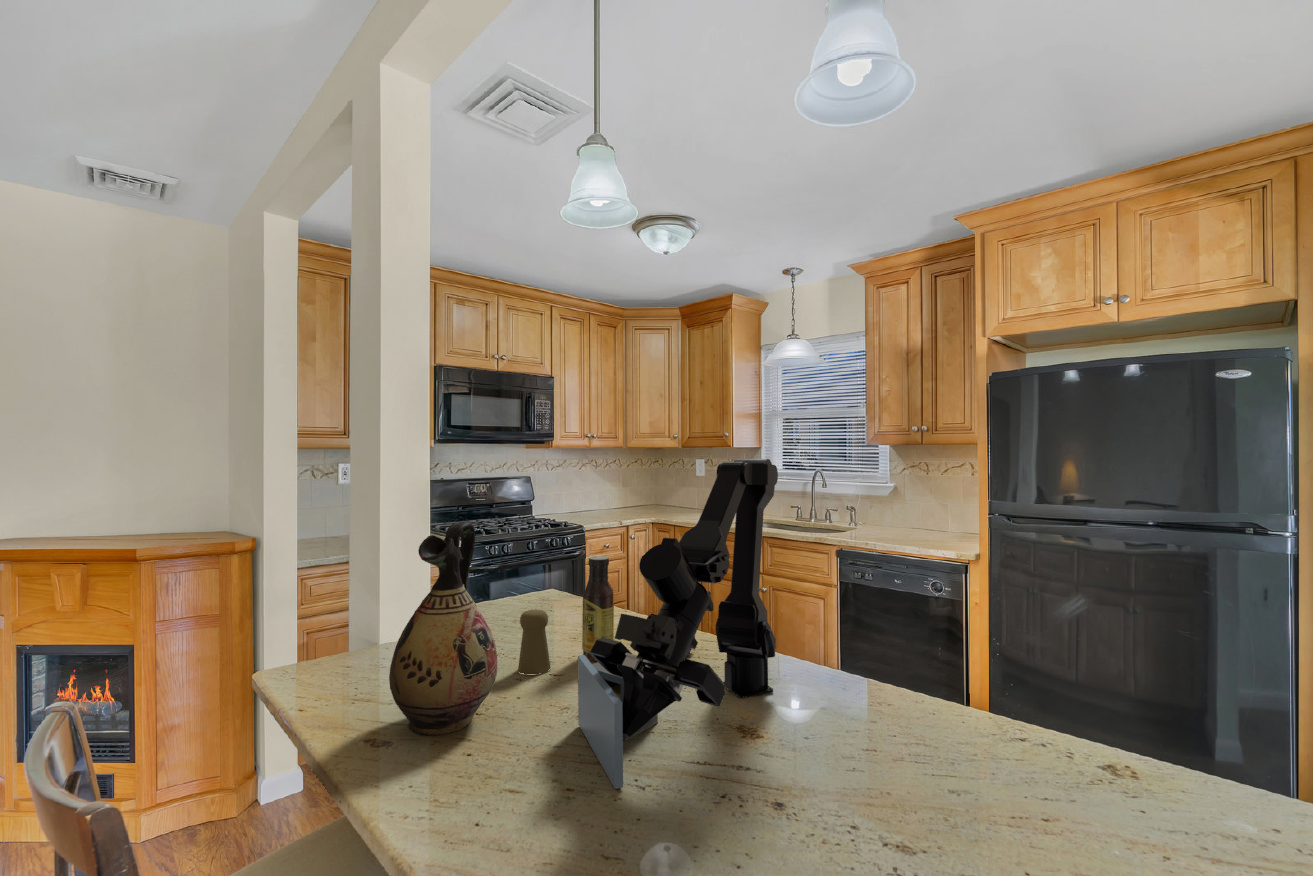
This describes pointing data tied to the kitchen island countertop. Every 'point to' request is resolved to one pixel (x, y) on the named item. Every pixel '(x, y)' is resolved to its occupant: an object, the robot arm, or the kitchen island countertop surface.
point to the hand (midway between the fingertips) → (624, 734)
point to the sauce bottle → (597, 606)
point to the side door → (601, 719)
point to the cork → (534, 643)
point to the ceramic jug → (444, 644)
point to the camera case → (621, 693)
